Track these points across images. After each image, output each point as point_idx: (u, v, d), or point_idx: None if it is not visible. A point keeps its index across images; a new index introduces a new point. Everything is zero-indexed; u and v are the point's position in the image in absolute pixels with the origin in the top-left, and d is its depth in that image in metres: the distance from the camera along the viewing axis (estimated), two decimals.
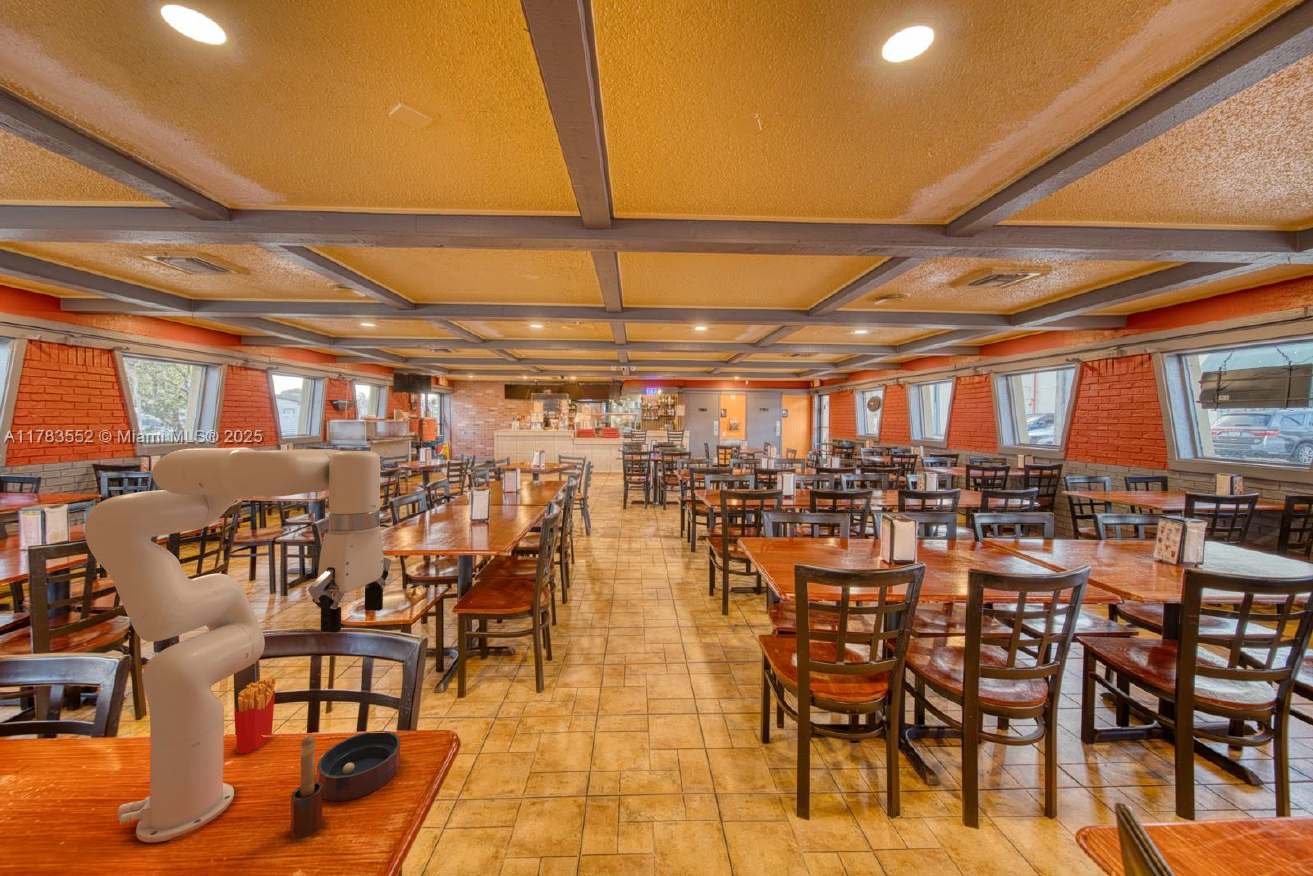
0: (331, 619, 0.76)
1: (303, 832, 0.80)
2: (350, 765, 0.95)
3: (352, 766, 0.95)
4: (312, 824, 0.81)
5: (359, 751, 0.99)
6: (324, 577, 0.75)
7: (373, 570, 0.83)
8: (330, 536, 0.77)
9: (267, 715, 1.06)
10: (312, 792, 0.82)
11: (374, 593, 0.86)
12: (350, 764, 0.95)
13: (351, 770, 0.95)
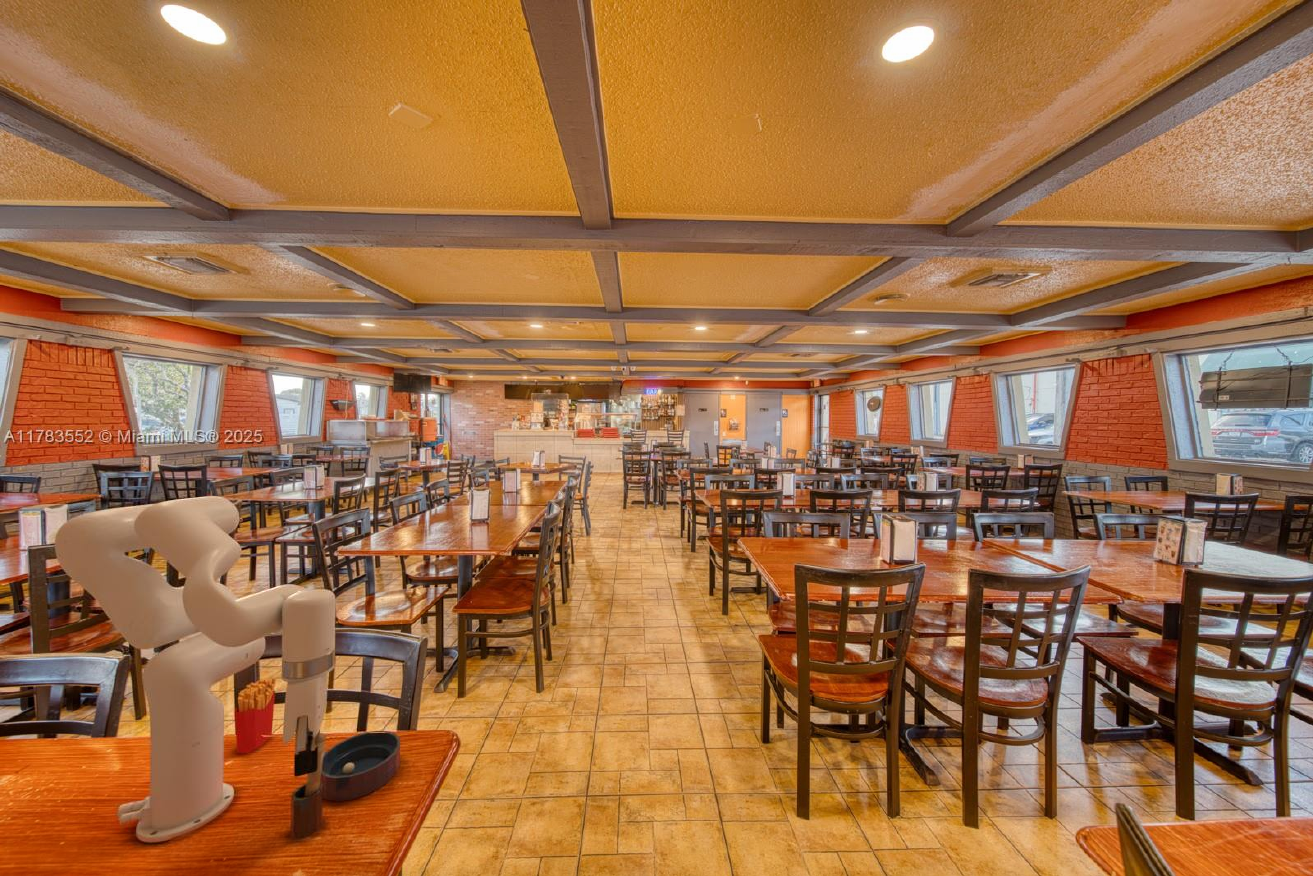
0: (310, 761, 0.81)
1: (303, 832, 0.80)
2: (350, 765, 0.95)
3: (352, 766, 0.95)
4: (312, 824, 0.81)
5: (359, 751, 0.99)
6: (304, 734, 0.78)
7: (325, 705, 0.85)
8: (298, 686, 0.78)
9: (267, 715, 1.06)
10: None
11: None
12: (350, 764, 0.95)
13: (351, 770, 0.95)
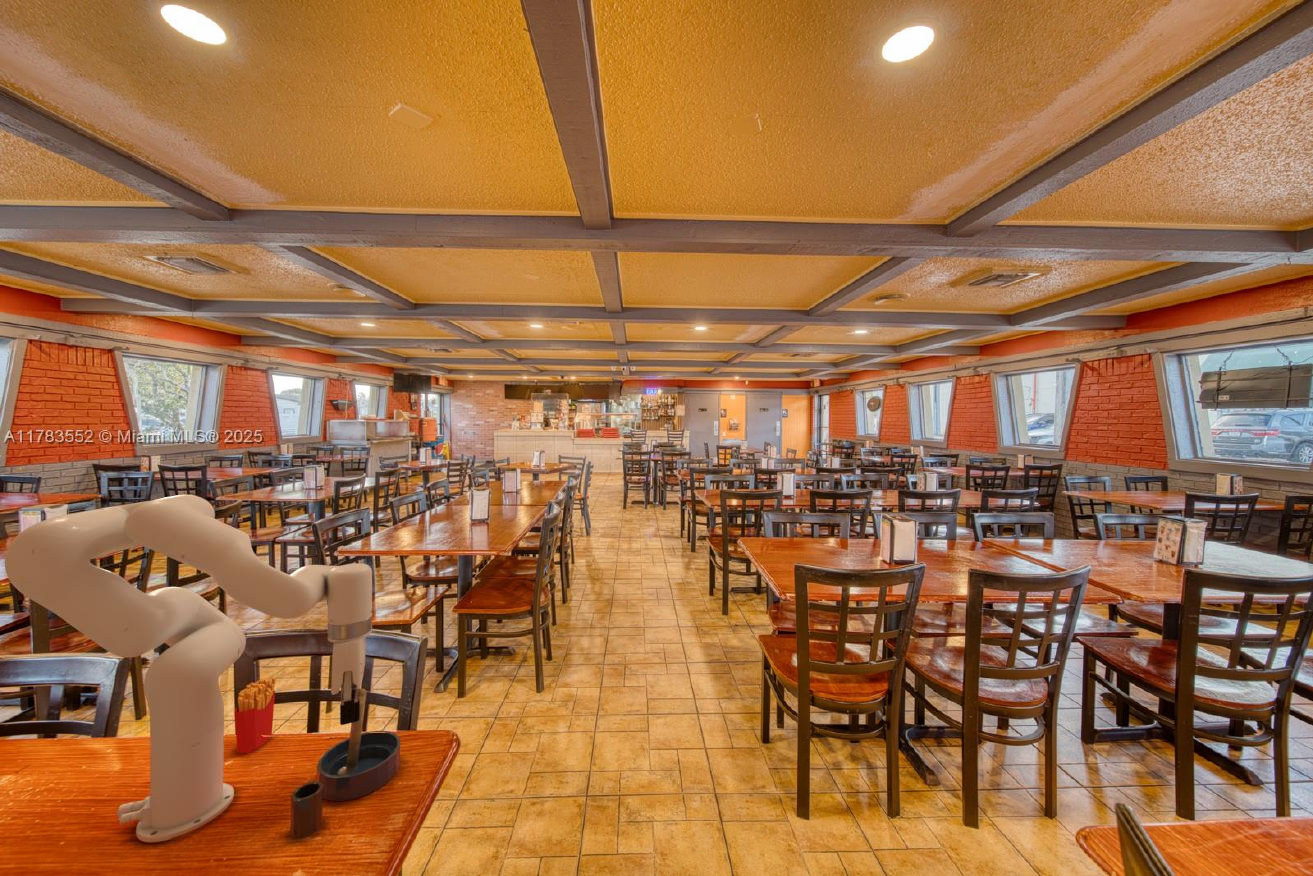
0: (354, 711, 0.93)
1: (303, 832, 0.80)
2: (341, 775, 0.93)
3: (344, 774, 0.93)
4: (312, 824, 0.81)
5: (359, 751, 0.99)
6: (349, 686, 0.90)
7: None
8: (343, 645, 0.90)
9: (267, 715, 1.06)
10: (360, 738, 0.94)
11: None
12: (341, 774, 0.93)
13: None
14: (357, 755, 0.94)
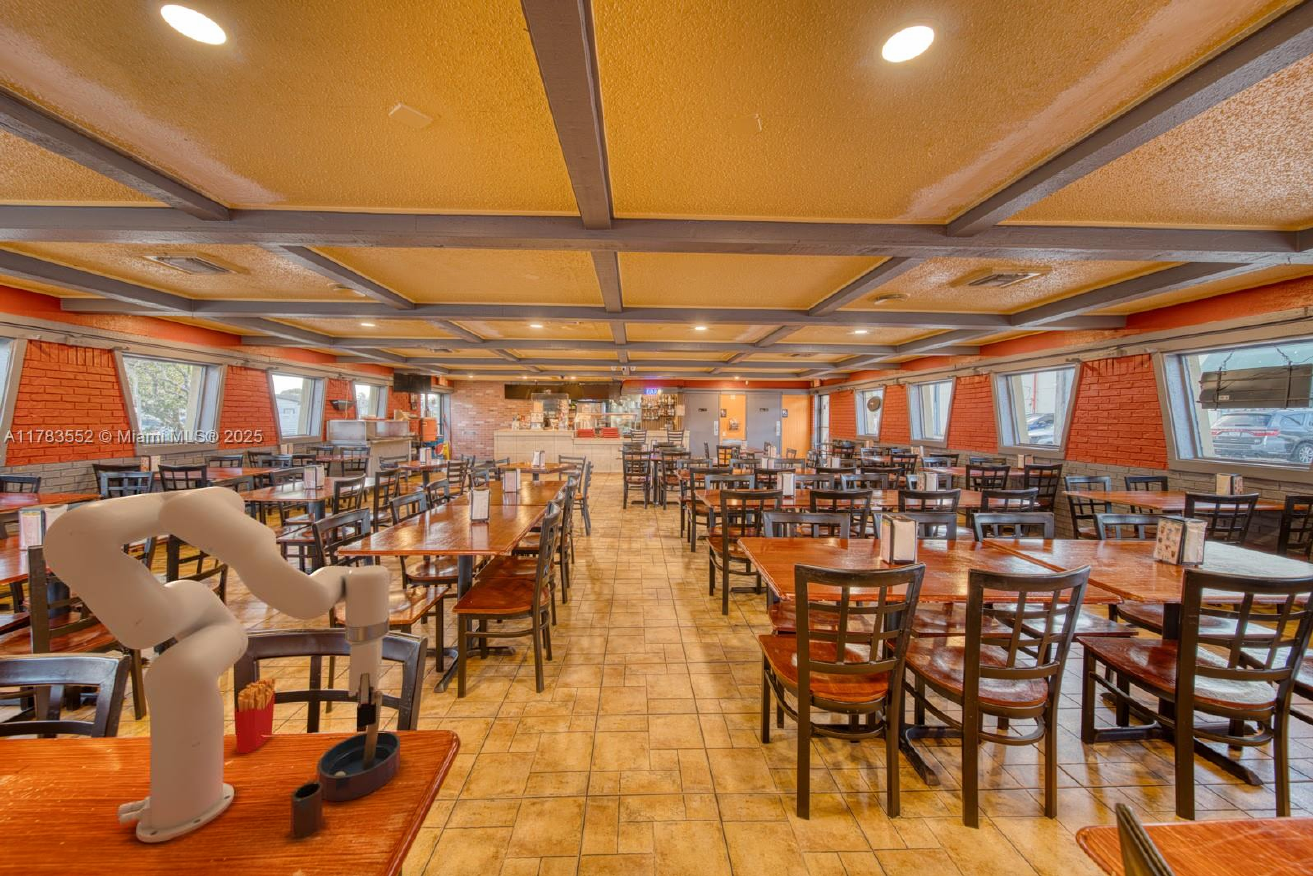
0: (370, 714, 0.92)
1: (303, 832, 0.80)
2: None
3: None
4: (312, 824, 0.81)
5: (359, 751, 0.99)
6: (366, 689, 0.89)
7: None
8: (361, 647, 0.90)
9: (267, 715, 1.06)
10: (376, 740, 0.94)
11: None
12: None
13: None
14: (373, 757, 0.94)
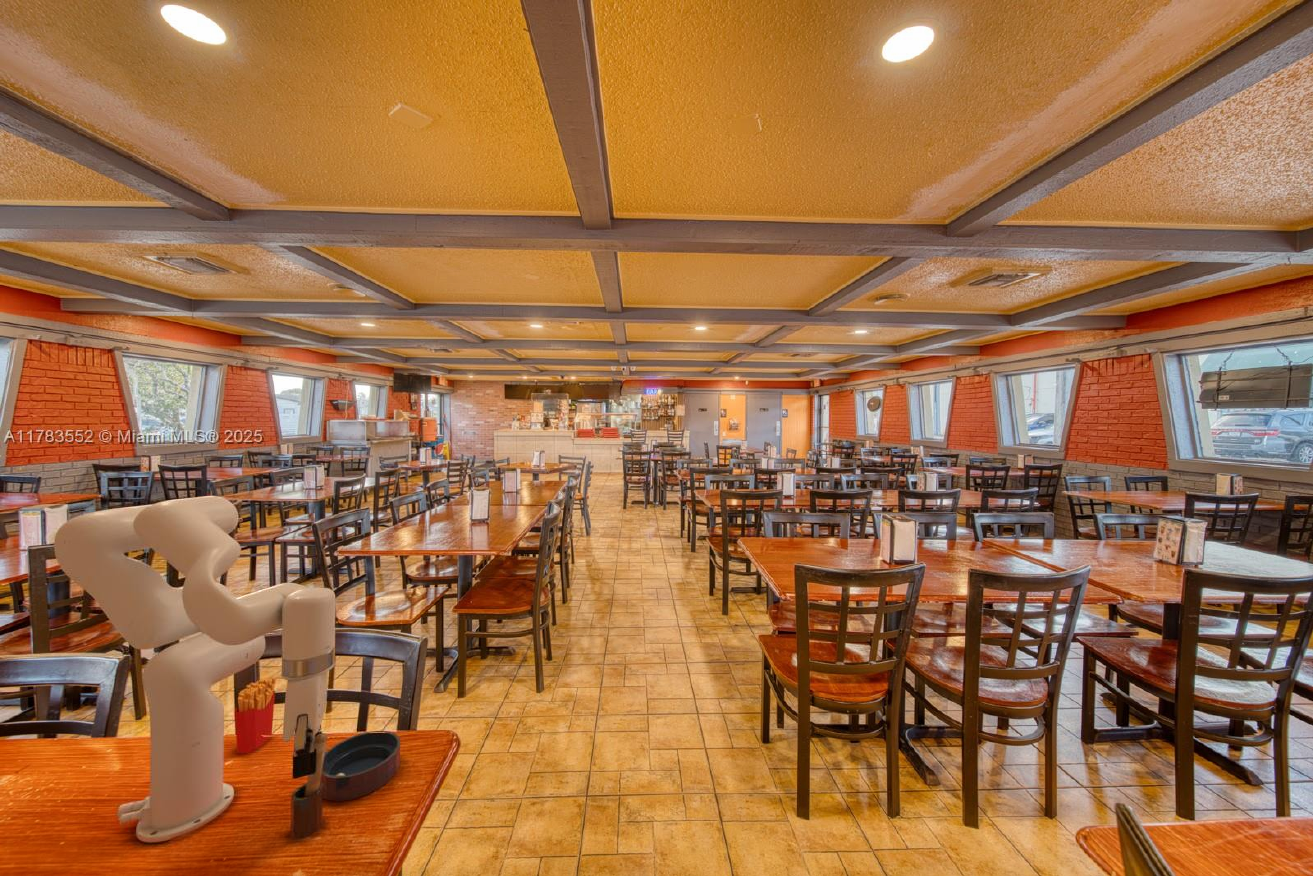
0: (309, 763, 0.79)
1: (303, 832, 0.80)
2: None
3: None
4: (312, 824, 0.81)
5: (359, 751, 0.99)
6: (303, 731, 0.77)
7: (325, 703, 0.85)
8: (298, 684, 0.78)
9: (267, 715, 1.06)
10: None
11: None
12: None
13: None
14: None
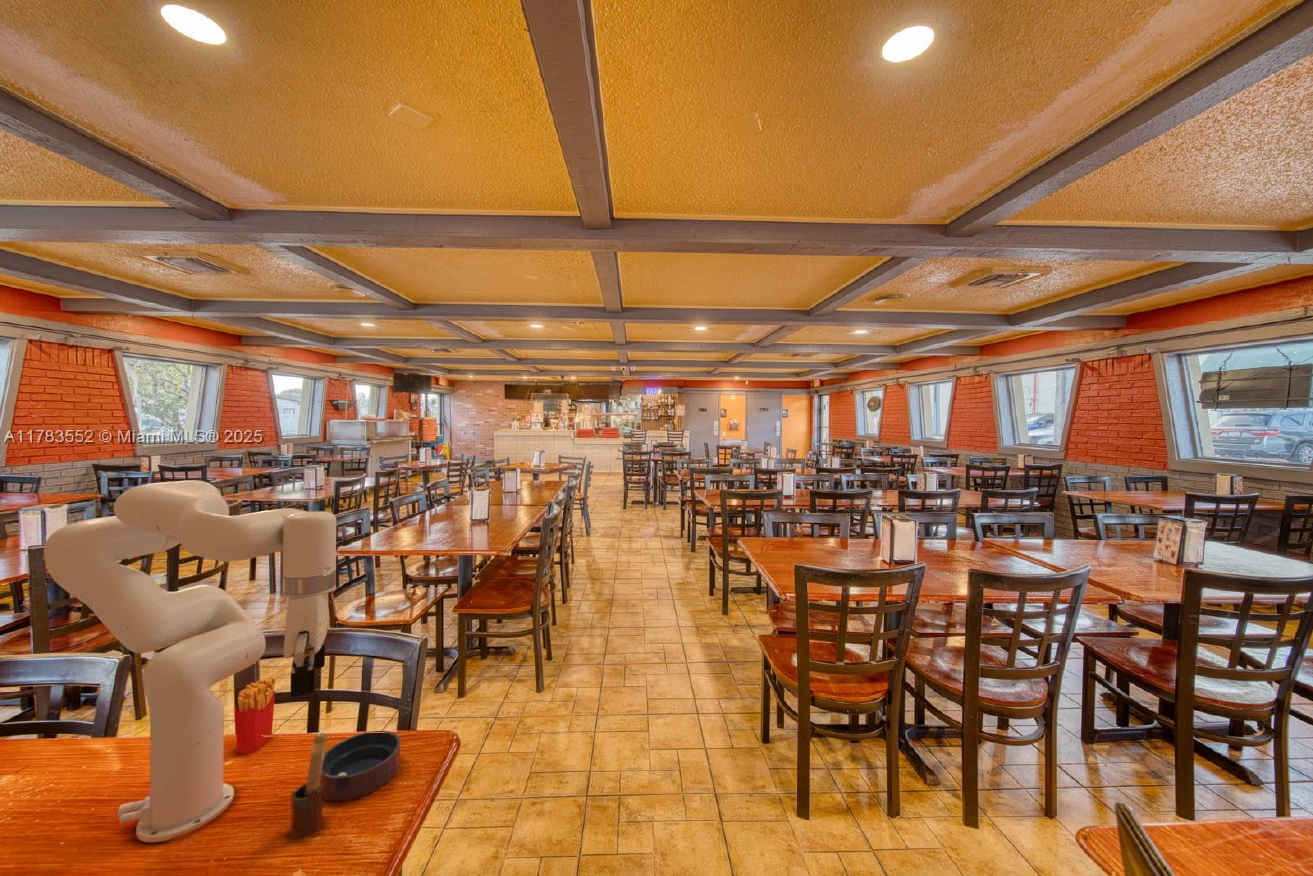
0: (307, 681, 0.78)
1: (303, 832, 0.80)
2: None
3: None
4: (312, 824, 0.81)
5: (359, 751, 0.99)
6: (303, 641, 0.76)
7: (326, 627, 0.85)
8: (299, 601, 0.78)
9: (267, 715, 1.06)
10: None
11: (316, 651, 0.86)
12: None
13: None
14: None
